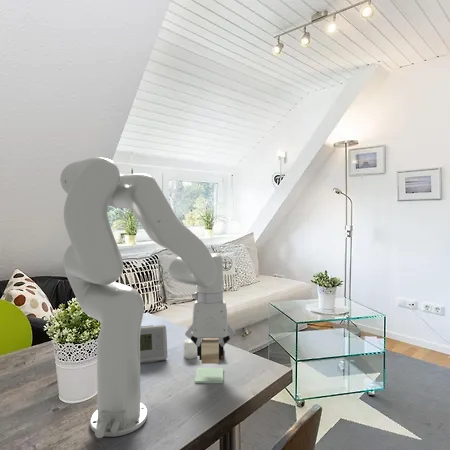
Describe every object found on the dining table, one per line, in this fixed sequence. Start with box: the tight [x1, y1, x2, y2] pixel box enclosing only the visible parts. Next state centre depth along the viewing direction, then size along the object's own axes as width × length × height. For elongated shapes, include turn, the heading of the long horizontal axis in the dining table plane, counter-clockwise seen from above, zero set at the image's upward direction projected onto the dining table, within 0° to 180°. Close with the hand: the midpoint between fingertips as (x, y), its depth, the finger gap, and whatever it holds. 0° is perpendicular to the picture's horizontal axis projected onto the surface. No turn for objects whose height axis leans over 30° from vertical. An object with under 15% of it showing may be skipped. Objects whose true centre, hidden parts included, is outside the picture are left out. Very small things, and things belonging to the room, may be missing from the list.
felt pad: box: [194, 367, 224, 384], centre depth 101 cm, size 8×8×1 cm
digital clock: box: [140, 324, 168, 365], centre depth 111 cm, size 16×9×11 cm, turn 96°
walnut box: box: [220, 349, 226, 361], centre depth 114 cm, size 4×3×3 cm
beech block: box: [200, 338, 220, 365], centre depth 101 cm, size 5×5×6 cm
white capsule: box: [183, 338, 198, 360], centre depth 115 cm, size 4×4×5 cm
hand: (210, 357), depth 101 cm, fingers closed on beech block, 5 cm apart
